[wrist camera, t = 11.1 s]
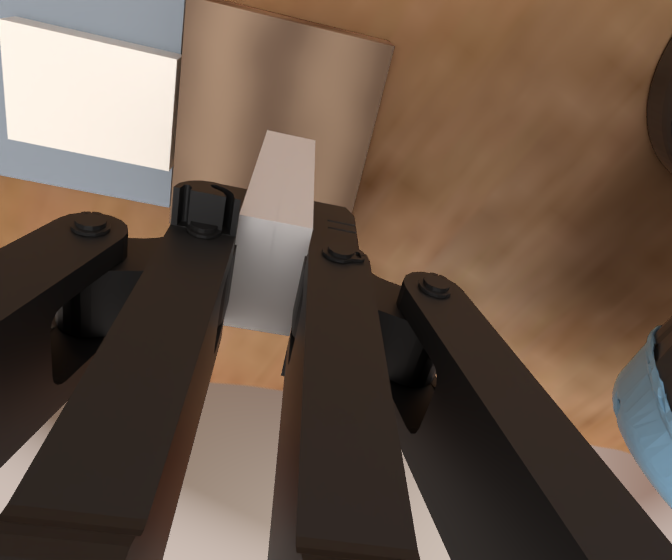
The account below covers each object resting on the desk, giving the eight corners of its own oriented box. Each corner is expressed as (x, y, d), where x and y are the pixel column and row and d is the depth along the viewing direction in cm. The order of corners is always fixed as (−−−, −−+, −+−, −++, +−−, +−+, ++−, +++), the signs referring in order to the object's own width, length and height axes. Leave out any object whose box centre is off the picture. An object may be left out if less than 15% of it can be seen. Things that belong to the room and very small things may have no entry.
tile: (184, 55, 33) (177, 59, 32) (176, 161, 37) (168, 171, 35) (15, 16, 32) (-2, 18, 30) (23, 130, 35) (7, 138, 34)
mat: (187, -9, 32) (185, -9, 32) (170, 204, 39) (169, 207, 38) (-71, -72, 30) (-77, -73, 30) (-41, 164, 37) (-45, 166, 37)
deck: (389, 40, 34) (394, 46, 31) (339, 237, 40) (341, 255, 38) (197, -7, 32) (186, -5, 30) (179, 206, 39) (169, 223, 36)
